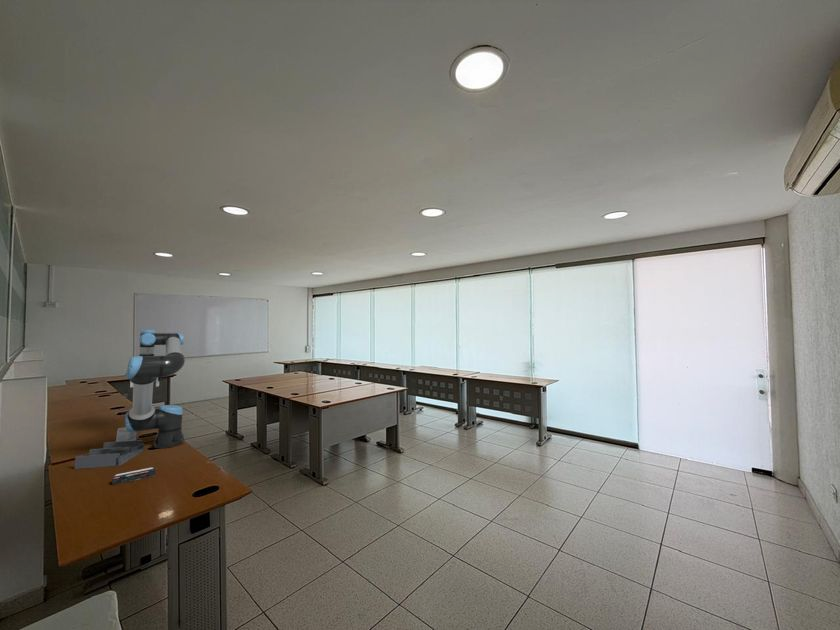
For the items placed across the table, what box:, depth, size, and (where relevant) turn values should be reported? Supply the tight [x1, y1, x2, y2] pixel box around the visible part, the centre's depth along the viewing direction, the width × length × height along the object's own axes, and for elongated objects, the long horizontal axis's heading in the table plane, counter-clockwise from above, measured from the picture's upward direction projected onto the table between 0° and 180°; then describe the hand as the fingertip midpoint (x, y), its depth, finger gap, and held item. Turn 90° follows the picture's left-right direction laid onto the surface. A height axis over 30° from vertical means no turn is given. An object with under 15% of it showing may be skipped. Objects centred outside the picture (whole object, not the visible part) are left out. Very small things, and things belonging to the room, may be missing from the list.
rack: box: [74, 439, 145, 470], centre depth 178 cm, size 19×22×6 cm
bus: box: [111, 467, 157, 486], centre depth 153 cm, size 14×25×4 cm, turn 130°
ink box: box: [115, 426, 138, 442], centre depth 195 cm, size 9×5×12 cm, turn 84°
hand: (144, 386), depth 212 cm, fingers open, 13 cm apart
